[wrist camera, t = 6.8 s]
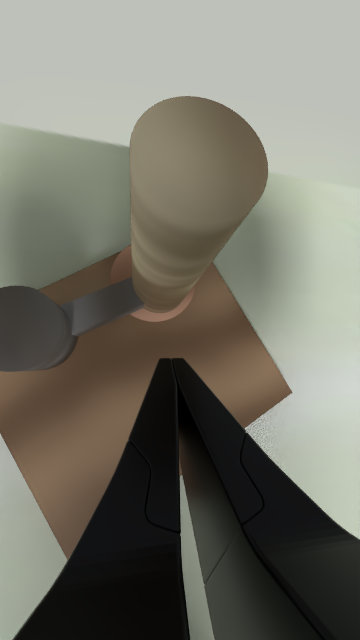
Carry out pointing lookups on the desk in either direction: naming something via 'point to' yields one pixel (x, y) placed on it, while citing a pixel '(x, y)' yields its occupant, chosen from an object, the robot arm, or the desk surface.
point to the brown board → (123, 388)
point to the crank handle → (152, 228)
